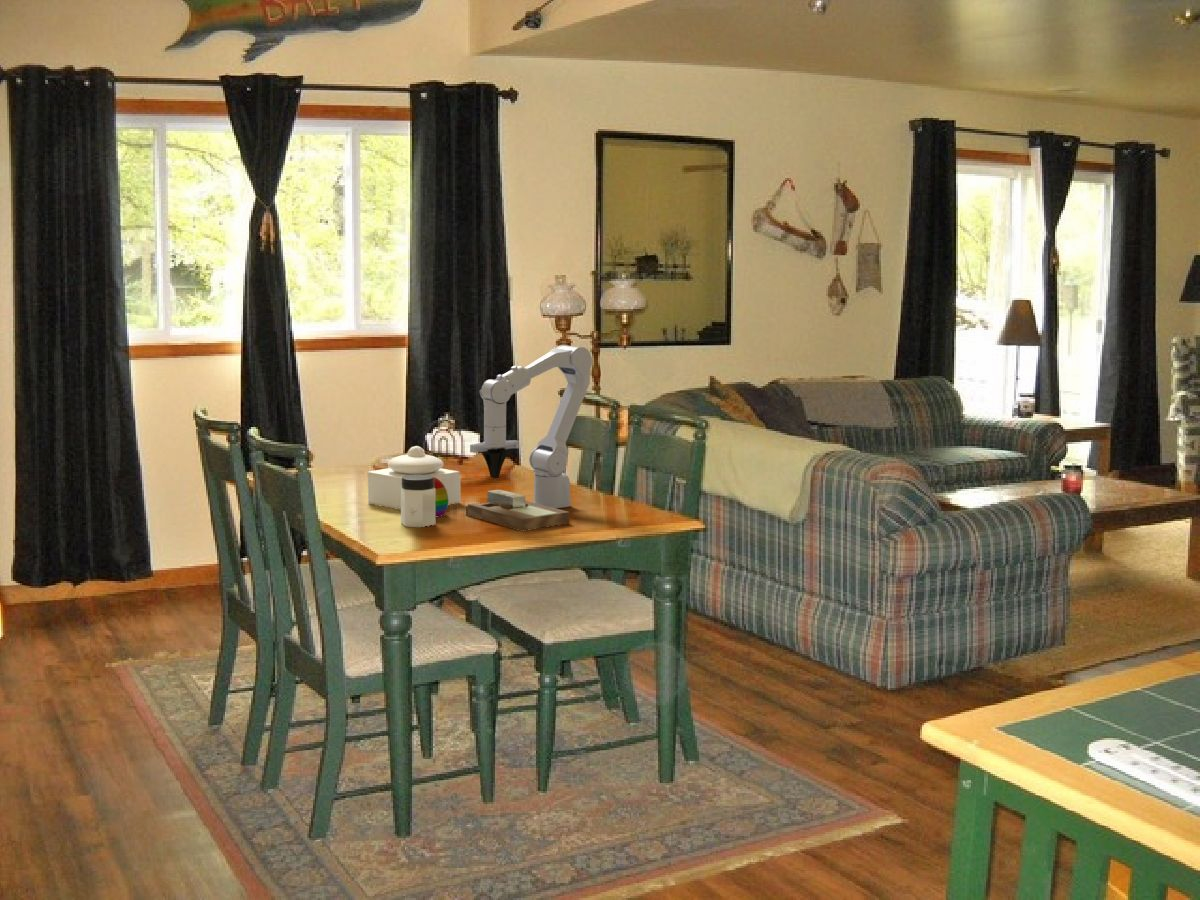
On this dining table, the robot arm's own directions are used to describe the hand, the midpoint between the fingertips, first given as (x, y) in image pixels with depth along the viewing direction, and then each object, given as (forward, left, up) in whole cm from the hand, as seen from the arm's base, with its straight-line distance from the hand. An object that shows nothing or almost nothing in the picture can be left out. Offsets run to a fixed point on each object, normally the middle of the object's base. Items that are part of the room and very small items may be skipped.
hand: (494, 477), depth 347 cm
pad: (0, +16, -6) cm, 18 cm away
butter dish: (+10, -23, -10) cm, 27 cm away
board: (0, +10, -10) cm, 14 cm away
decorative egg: (+14, -7, -10) cm, 19 cm away
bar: (0, +5, -6) cm, 8 cm away
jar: (+23, 0, -10) cm, 25 cm away
